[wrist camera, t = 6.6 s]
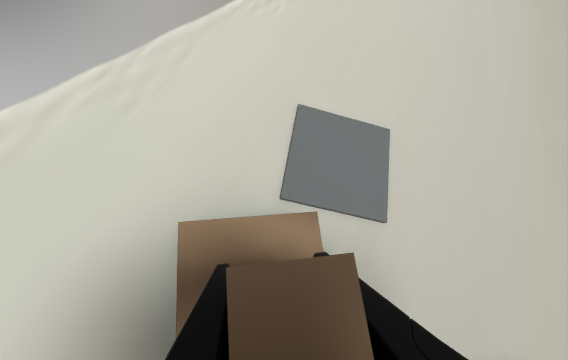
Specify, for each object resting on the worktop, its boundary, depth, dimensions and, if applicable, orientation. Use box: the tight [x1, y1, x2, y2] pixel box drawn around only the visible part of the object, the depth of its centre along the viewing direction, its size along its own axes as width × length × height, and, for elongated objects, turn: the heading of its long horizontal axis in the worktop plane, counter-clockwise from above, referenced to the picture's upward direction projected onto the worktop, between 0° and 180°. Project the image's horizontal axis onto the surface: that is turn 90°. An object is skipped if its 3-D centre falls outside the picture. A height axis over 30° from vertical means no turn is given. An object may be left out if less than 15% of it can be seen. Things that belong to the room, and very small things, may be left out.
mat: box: [280, 104, 390, 223], centre depth 25 cm, size 10×10×1 cm
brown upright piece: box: [176, 212, 374, 360], centre depth 11 cm, size 9×9×12 cm
